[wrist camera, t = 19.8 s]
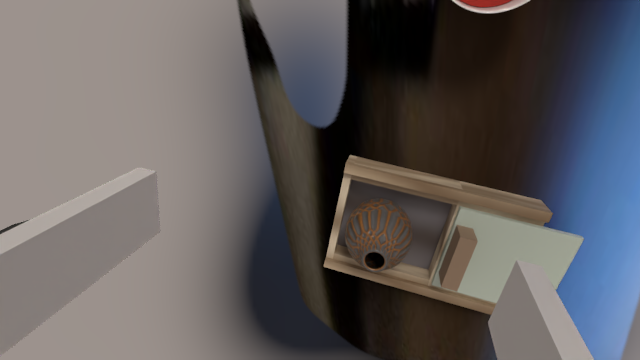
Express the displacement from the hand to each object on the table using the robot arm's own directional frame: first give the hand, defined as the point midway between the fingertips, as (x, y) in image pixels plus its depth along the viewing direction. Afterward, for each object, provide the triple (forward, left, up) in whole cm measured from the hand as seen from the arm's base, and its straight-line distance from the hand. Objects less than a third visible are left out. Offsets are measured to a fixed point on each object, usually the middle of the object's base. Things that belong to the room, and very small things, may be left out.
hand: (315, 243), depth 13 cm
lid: (+11, +16, -23) cm, 31 cm away
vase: (+11, +3, -26) cm, 28 cm away
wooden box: (+11, +8, -26) cm, 29 cm away
